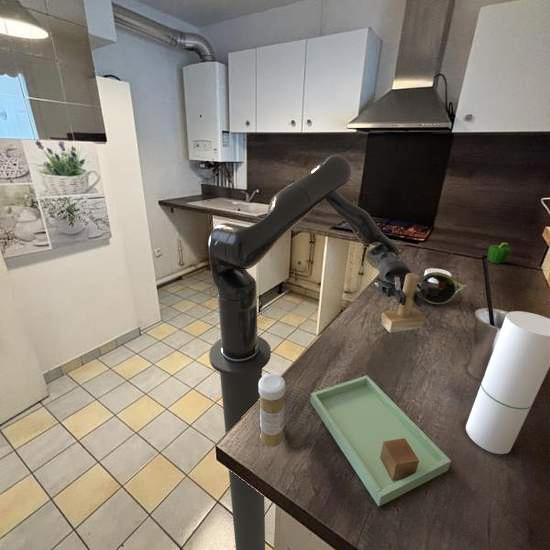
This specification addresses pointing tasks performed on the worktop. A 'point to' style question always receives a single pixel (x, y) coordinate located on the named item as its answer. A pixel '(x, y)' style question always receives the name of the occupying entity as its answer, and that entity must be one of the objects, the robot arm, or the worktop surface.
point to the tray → (375, 436)
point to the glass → (485, 331)
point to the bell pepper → (498, 253)
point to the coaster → (436, 271)
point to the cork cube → (398, 459)
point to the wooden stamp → (405, 310)
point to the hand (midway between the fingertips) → (411, 302)
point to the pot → (445, 283)
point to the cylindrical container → (510, 381)
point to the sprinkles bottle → (271, 409)
